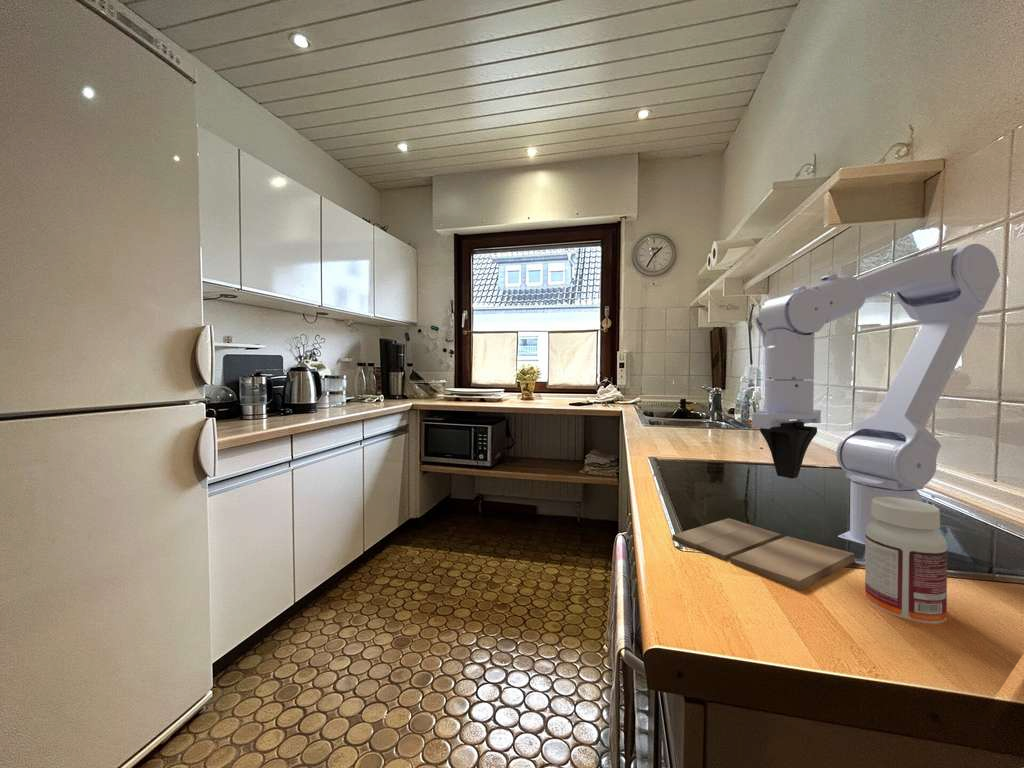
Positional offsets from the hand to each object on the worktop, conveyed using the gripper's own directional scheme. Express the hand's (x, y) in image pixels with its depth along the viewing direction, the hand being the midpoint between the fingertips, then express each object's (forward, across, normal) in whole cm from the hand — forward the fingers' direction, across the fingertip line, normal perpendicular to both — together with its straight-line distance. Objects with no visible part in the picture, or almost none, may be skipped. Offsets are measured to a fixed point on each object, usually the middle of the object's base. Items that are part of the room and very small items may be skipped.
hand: (787, 476), depth 57 cm
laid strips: (+10, +5, -6) cm, 13 cm away
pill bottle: (+11, +6, +14) cm, 19 cm away
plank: (+10, +5, +3) cm, 12 cm away
